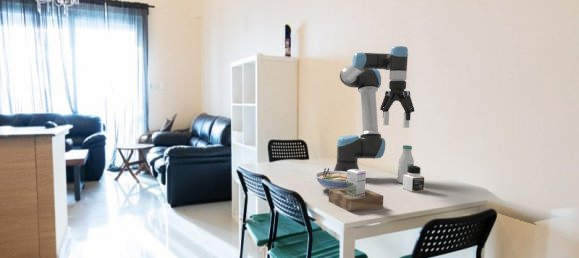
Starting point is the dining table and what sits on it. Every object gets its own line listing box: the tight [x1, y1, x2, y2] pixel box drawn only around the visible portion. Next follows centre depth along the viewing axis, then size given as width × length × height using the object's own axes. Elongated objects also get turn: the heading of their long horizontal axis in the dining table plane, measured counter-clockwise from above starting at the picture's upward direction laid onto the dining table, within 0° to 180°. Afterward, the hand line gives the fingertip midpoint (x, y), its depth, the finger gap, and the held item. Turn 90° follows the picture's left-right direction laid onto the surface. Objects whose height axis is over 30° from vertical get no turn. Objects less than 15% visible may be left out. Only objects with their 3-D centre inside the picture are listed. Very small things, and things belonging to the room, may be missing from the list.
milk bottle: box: [396, 144, 415, 184], centre depth 191 cm, size 8×8×20 cm
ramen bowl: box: [314, 167, 347, 191], centre depth 172 cm, size 25×23×8 cm
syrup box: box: [346, 169, 367, 197], centre depth 150 cm, size 6×6×14 cm
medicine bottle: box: [402, 164, 425, 193], centre depth 177 cm, size 7×7×12 cm
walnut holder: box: [328, 188, 384, 213], centre depth 150 cm, size 16×16×5 cm
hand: (395, 126), depth 168 cm, fingers open, 13 cm apart
